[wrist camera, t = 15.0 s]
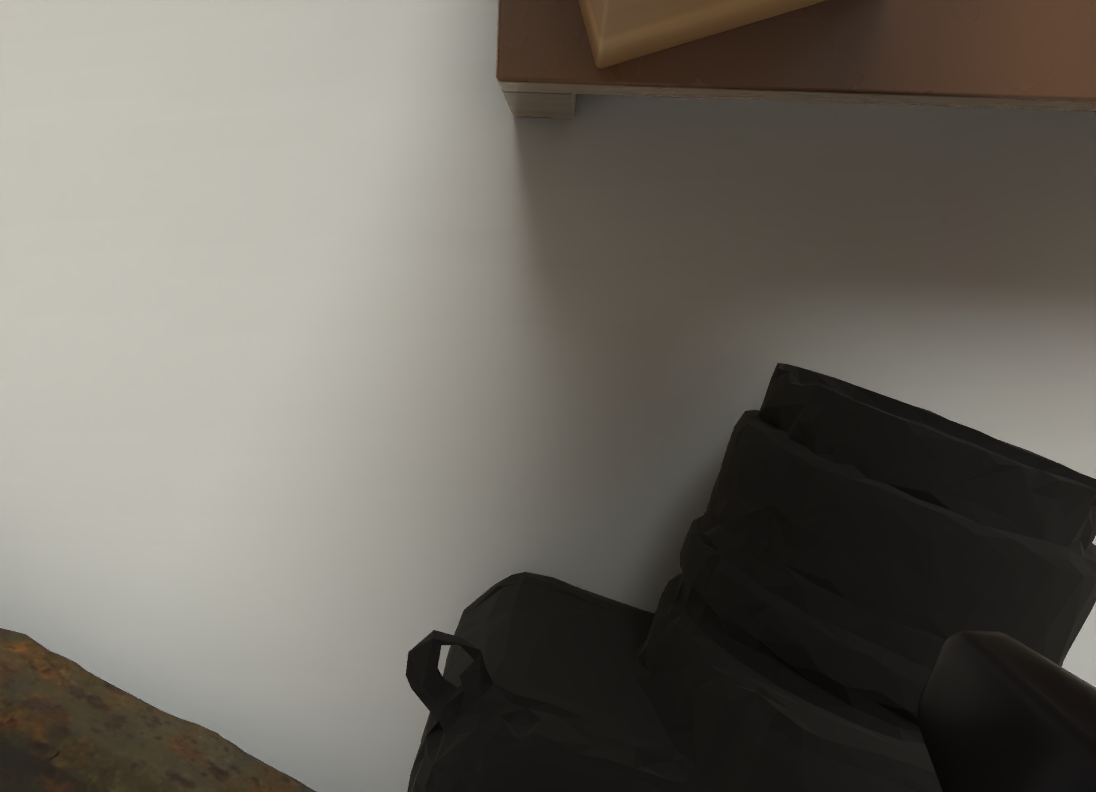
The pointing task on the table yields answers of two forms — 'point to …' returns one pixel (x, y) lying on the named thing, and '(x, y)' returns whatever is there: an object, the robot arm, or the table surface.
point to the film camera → (772, 615)
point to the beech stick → (667, 23)
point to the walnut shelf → (821, 56)
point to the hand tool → (106, 736)
